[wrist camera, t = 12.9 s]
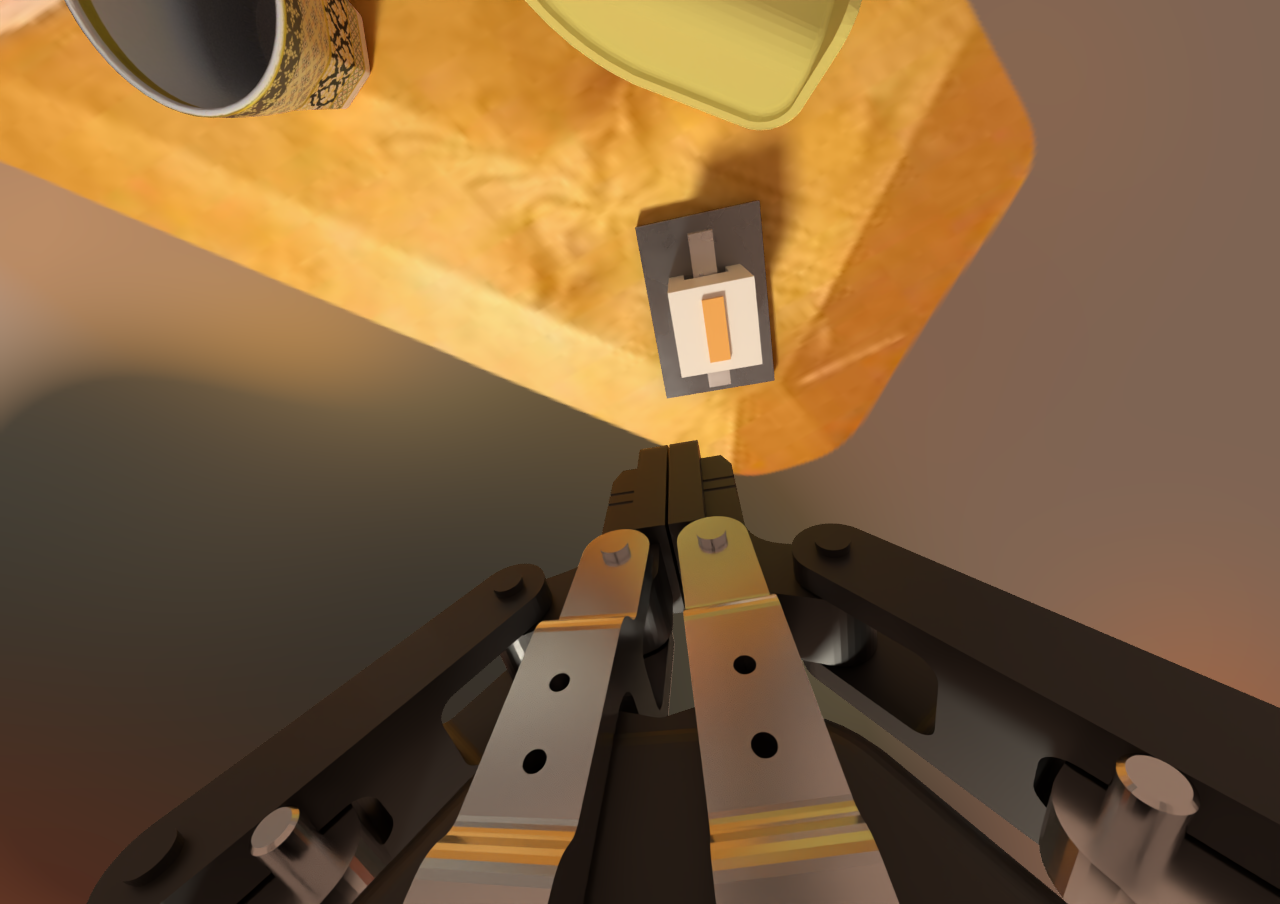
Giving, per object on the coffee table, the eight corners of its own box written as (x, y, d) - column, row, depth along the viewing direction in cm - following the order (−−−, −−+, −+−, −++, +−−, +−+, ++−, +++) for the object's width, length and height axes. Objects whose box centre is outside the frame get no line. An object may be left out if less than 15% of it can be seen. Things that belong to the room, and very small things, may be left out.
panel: (636, 226, 33) (632, 228, 30) (757, 200, 32) (764, 199, 29) (667, 393, 38) (666, 408, 35) (772, 376, 37) (779, 389, 34)
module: (668, 278, 33) (667, 294, 27) (740, 263, 33) (755, 277, 27) (680, 349, 35) (681, 379, 29) (747, 337, 35) (763, 365, 29)
